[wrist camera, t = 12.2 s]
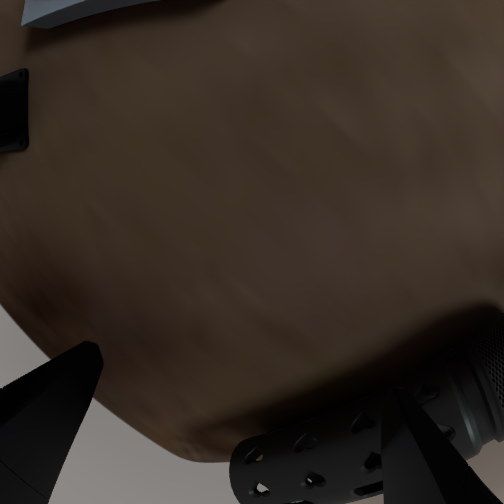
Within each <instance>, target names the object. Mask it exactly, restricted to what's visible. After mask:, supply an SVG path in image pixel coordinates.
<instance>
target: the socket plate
mask: <svg viewBox="0 0 504 504" xmlns="http://www.w3.org/2000/svg"><path fill="white" fill-rule="evenodd" d="M153 1H159V0H26V1H25V6H24V12H23V18H22V24H21V26H28V27H37V28H45V29H50V28H53V27H56V26H58V25H61V24H64V23H67V22H70V21H73V20H76V19H80V18H83V17H86V16H90V15H93V14H97V13H101V12H105V11H109V10H113V9H117V8H122V7H126V6H131V5H136V4H141V3H147V2H153Z"/></svg>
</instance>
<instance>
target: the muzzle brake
mask: <svg viewBox="0 0 504 504" xmlns="http://www.w3.org/2000/svg"><path fill="white" fill-rule="evenodd" d="M393 387H405V388H406V389H407V390H408V391H409V392H410V393H411V394H412V396H413V397H414V398H415V399H416V400H417V402H418V403H419V404H420V405H421V406H422V408H423V409H424V410H425V411H426V412H427V414H428V415H429V416H430V417H431V419H432V420H433V421H434V422H435V423H436V425H437V426H438V427H439V428H440V430H441V431H442V432H443V433H444V434H445V436H446V437H447V438H448V439H449V441H450V442H451V443H452V444H453V446H454V447H455V448H456V449H457V451H458V452H459V453H460V454H461V456H462V457H463V458H464V459H465V461H466V460H468V459H470V458H472V457H474V456H475V455H477V454H478V453H479V452H480V450H481V448H482V446H483V445H484V444H486V443H488V442H490V441H491V440H493V439H495V440H497V441H498V442H501V441H503V440H504V313H502V314H500V315H499V316H498V317H496V318H495V319H493V320H492V321H491V322H489V323H488V324H486V325H485V326H484V327H482V328H481V329H479V330H478V331H476V332H475V333H473V334H472V335H470V336H469V337H467V338H466V342H465V343H464V344H462V345H461V344H458V345H456V346H455V347H453V348H452V349H450V350H448V351H447V352H445V353H443V354H442V355H440V356H438V357H437V358H435V359H433V360H431V361H430V362H428V365H427V366H426V367H424V368H423V369H421V370H419V371H416V372H415V373H413V374H411V375H409V376H407V377H405V378H403V379H401V380H399V381H397V382H395V383H393V384H391V385H389V386H387V387H385V388H383V389H381V390H379V391H377V392H374V393H372V394H371V395H367V396H365V397H363V398H361V399H359V400H357V401H354V402H352V403H350V404H347V405H345V406H341V407H339V408H336V409H334V410H331V411H329V412H326V413H323V414H321V415H318V416H315V417H313V418H310V419H307V420H304V421H302V422H299V423H296V424H293V425H290V426H287V427H284V428H280V429H277V430H274V431H271V432H268V433H265V434H262V435H258V436H255V437H251V438H248V439H245V440H243V441H242V442H240V443H239V444H238V445H237V447H236V448H235V450H234V451H233V453H232V456H231V460H230V466H229V477H230V483H231V487H232V489H233V492H234V495H235V496H236V498H237V500H238V501H239V503H240V504H345V503H350V502H354V501H358V500H362V499H365V498H369V497H373V496H376V495H379V494H383V476H382V462H381V410H382V405H383V402H384V401H385V399H386V397H387V396H388V394H389V392H390V390H391V389H392V388H393ZM262 454H263V458H262V460H260V461H256V459H257V458H258V457H259V456H260V455H262ZM308 478H309V479H310V480H311V481H312V483H311V482H309V481H308ZM259 483H260V484H262V485H264V486H265V487H267V488H268V490H269V491H268V490H266V491H264V492H259V491H258V490H257V485H258V484H259Z"/></svg>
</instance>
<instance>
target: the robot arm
mask: <svg viewBox="0 0 504 504" xmlns="http://www.w3.org/2000/svg"><path fill="white" fill-rule="evenodd" d="M28 144H29V139H28V69H26V68H25V69H19V70H16V71H14V72H11V73H9V74H6V75H4V76H1V77H0V152H4V151H12V150H20V149H24V148H27V146H28ZM103 365H104V362H103V358H102V355H101V352H100V349H99V346H98V345H97V344H96V343H94V342H91V341H84V342H82V343H80V344H78V345H77V346H75V347H73V348H71V349H69V350H68V351H66V352H64V353H62V354H61V355H59V356H57V357H55V358H53V359H52V360H50V361H48V362H46V363H45V364H43V365H41V366H39V367H38V368H36V369H34V370H32V371H31V372H29V373H27V374H25V375H23V376H22V377H20V378H18V379H16V380H15V381H13V382H11V383H10V384H8V385H6V386H4V387H3V389H2V388H0V504H48V502H49V499H50V497H51V494H52V491H53V489H54V486H55V484H56V481H57V479H58V476H59V474H60V471H61V469H62V466H63V464H64V462H65V459H66V457H67V455H68V452H69V450H70V448H71V445H72V443H73V441H74V438H75V436H76V434H77V432H78V430H79V427H80V425H81V423H82V421H83V419H84V416H85V414H86V412H87V410H88V408H89V405H90V403H91V400H92V397H93V394H94V392H95V389H96V386H97V383H98V380H99V377H100V375H101V372H102V369H103ZM381 462H382V476H383V494H384V504H503V503H502V502H501V501H500V500H499V499H498V498H497V497H496V496H495V495H494V494H493V493H492V492H491V491H490V489H489V488H488V487H487V486H486V485H485V484H484V483H483V482H482V481H481V479H480V478H479V477H478V476H477V474H476V473H475V472H474V471H473V469H472V468H471V467H470V466H468V464H467V462H466V461H465V459H464V458H463V457H462V456H461V454H460V453H459V452H458V451H457V449H456V448H455V447H454V446H453V444H452V443H451V442H450V441H449V439H448V438H447V437H446V436H445V434H444V433H443V432H442V431H441V430H440V428H439V427H438V426H437V425H436V423H435V422H434V421H433V420H432V419H431V417H430V416H429V415H428V414H427V412H426V411H425V410H424V409H423V408H422V406H421V405H420V404H419V403H418V402H417V400H416V399H415V398H414V397H413V396H412V394H411V393H410V392H409V391H408V390H407V389H406V388H405V387H393V388H392V389H391V390H390V392H389V394H388V396H387V397H386V399H385V401H384V402H383V405H382V410H381Z"/></svg>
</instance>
